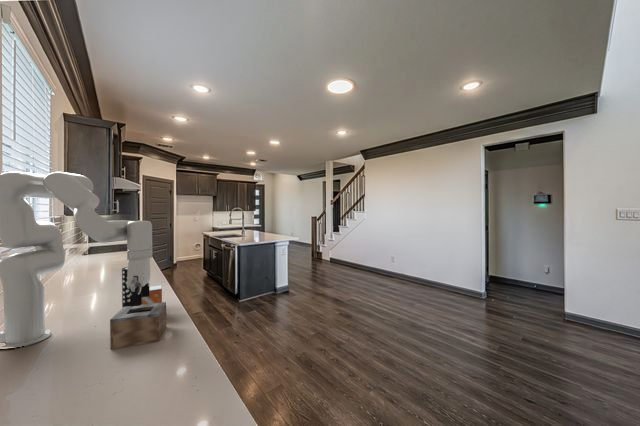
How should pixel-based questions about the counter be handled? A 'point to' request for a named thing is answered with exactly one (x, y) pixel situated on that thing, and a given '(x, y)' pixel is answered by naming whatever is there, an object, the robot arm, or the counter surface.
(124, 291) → the white-spotted black cylinder
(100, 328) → the counter surface
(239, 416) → the counter surface
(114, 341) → the coin box
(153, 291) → the small box
